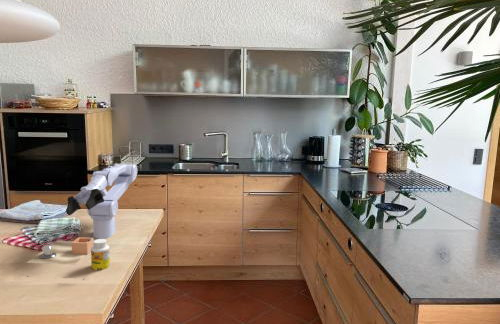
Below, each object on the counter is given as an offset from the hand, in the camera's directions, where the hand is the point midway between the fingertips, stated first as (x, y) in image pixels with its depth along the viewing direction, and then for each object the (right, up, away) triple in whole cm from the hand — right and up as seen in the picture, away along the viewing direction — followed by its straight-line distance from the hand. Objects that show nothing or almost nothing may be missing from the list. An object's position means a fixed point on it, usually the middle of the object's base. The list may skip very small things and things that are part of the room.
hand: (77, 210), depth 131 cm
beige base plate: (-7, -17, +6) cm, 19 cm away
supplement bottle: (+10, -19, -5) cm, 22 cm away
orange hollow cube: (-1, -15, +7) cm, 17 cm away
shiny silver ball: (-11, -17, +2) cm, 21 cm away
